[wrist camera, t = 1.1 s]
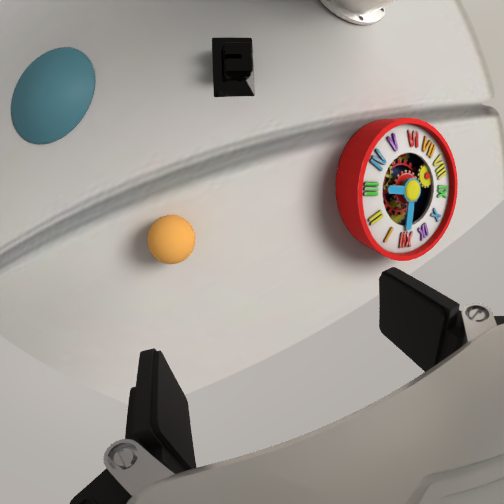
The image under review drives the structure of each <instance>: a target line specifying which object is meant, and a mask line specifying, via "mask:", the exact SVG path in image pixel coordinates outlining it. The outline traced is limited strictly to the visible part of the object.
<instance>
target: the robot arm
mask: <svg viewBox="0 0 504 504" xmlns="http://www.w3.org/2000/svg"><path fill="white" fill-rule="evenodd" d="M320 1H321V2H322V4H323V5H325V6H326V7H327V8H328V9H329V10H330V11H331V12H333V13H334V14H335V15H337V16H339V17H341V18H342V19H344V20H347V21H349V22H352V23H355V24H360V25H370V24H373V23H376V22H378V21H380V20H381V19H382V18H383V17H384V15H385V12H386V5H388V4H390V3H392V2H394V1H396V0H320ZM379 293H380V320H379V322H380V323H379V327H380V330H381V332H382V333H383V334H384V335H385V336H386V337H387V338H388V339H389V340H391V341H392V342H393V343H394V344H395V345H396V346H397V347H398V348H399V349H401V350H402V351H403V352H404V353H405V354H406V355H407V356H408V357H410V358H411V359H412V360H413V361H414V362H415V363H416V364H417V365H418V366H419V367H421V368H422V369H423V370H424V371H425V373H423V374H422V375H420V376H419V377H417V378H415V379H414V380H412V381H410V382H409V383H407V384H406V385H404V386H402V387H401V388H399V389H397V390H395V391H394V392H392V393H390V394H388V395H387V396H385V397H383V398H381V399H379V400H378V401H376V402H374V403H372V404H370V405H368V406H366V407H365V408H362V409H360V410H358V411H356V412H354V413H352V414H350V415H348V416H346V417H344V418H342V419H340V420H338V421H335V422H333V423H331V424H329V425H326V426H324V427H321V428H319V429H317V430H315V431H312V432H309V433H307V434H304V435H302V436H299V437H297V438H294V439H292V440H289V441H286V442H283V443H280V444H277V445H274V446H271V447H269V448H266V449H262V450H259V451H256V452H253V453H250V454H246V455H243V456H240V457H236V458H233V459H229V460H225V461H221V462H218V463H214V464H210V465H206V466H202V467H198V468H196V463H195V456H194V449H193V441H192V434H191V426H190V417H189V409H188V402H187V399H186V397H185V395H184V393H183V391H182V389H181V388H180V386H179V384H178V382H177V380H176V379H175V377H174V375H173V373H172V371H171V369H170V367H169V365H168V363H167V361H166V359H165V357H164V355H163V354H162V352H161V351H156V349H154V348H153V349H150V350H146V351H142V352H140V358H139V365H138V373H137V382H136V387H132V388H131V390H130V396H129V405H128V414H127V424H126V435H125V439H122V440H119V441H116V442H114V443H113V444H111V445H110V447H108V448H107V450H106V452H105V454H104V464H105V466H106V468H107V469H105V470H104V471H103V472H102V473H101V474H100V475H99V476H98V477H96V478H95V479H94V480H93V481H92V482H91V483H90V484H89V485H87V486H86V488H84V489H83V490H82V491H81V492H80V493H78V494H77V495H76V496H75V497H74V498H73V499H72V500H71V502H70V504H504V316H493V313H492V311H491V309H490V308H488V307H487V306H485V305H483V304H479V303H472V304H468V305H466V306H465V307H464V308H463V309H462V312H461V311H460V310H459V304H458V303H457V302H455V301H453V300H452V299H450V298H448V297H446V296H445V295H443V294H441V293H440V292H438V291H436V290H435V289H433V288H431V287H429V286H427V285H426V284H424V283H422V282H421V281H419V280H417V279H415V278H413V277H412V276H410V275H408V274H406V273H405V272H403V271H401V270H399V269H397V268H395V267H392V268H390V269H388V270H385V271H383V272H382V274H381V276H380V278H379Z"/></svg>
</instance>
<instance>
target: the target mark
mask: <svg viewBox="0 0 504 504" xmlns="http://www.w3.org/2000/svg"><path fill="white" fill-rule="evenodd" d="M94 88H95V74H94V69H93V66H92V64H91V62H90V60H89V59H88V57H87V56H86V55H85V54H83V53H82V52H81V51H79V50H76V49H73V48H58V49H54V50H51V51H49V52H47V53H45V54H43V55H41V56H40V57H38V58H37V59H36V60H35V61H33V62H32V63H31V64H30V65H29V66H28V68H27V69H26V70H25V71H24V73H23V74H22V76H21V77H20V79H19V81H18V83H17V85H16V88H15V90H14V94H13V98H12V104H11V115H12V120H13V124H14V126H15V129H16V130H17V132H18V133H19V134H20V136H21V137H23V138H24V139H25V140H27V141H29V142H32V143H36V144H46V143H50V142H54V141H56V140H58V139H60V138H62V137H63V136H65V135H67V134H68V133H69V132H70V131H71V130H72V129H73V128H74V127H76V125H77V124H78V123H79V122H80V121H81V119H82V118H83V116H84V115H85V113H86V111H87V109H88V107H89V105H90V103H91V100H92V97H93V93H94Z"/></svg>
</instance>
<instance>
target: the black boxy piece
mask: <svg viewBox="0 0 504 504" xmlns="http://www.w3.org/2000/svg"><path fill="white" fill-rule="evenodd" d="M212 53H213V83H214V97H227V96H254V95H255V90H254V70H253V50H252V39H251V38H212Z"/></svg>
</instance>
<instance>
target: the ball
mask: <svg viewBox="0 0 504 504" xmlns="http://www.w3.org/2000/svg"><path fill="white" fill-rule="evenodd" d="M147 242H148V247H149V250H150V252H151V253H152V255H153V256H154V257H155V258H156V259H158V260H159V261H161V262H163V263H167V264H175V263H179V262H181V261H183V260H185V259H186V258H187V257H188V256H189V255H190V254H191V253H192V251H193V249H194V246H195V233H194V230H193V228H192V226H191V225H190V223H189V222H188V221H187V220H185V219H184V218H182V217H179V216H176V215H167V216H163V217H161V218H159V219H158V220H156V221H155V222H154V223H153V225H152V226H151V228H150V230H149V232H148V238H147Z"/></svg>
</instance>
